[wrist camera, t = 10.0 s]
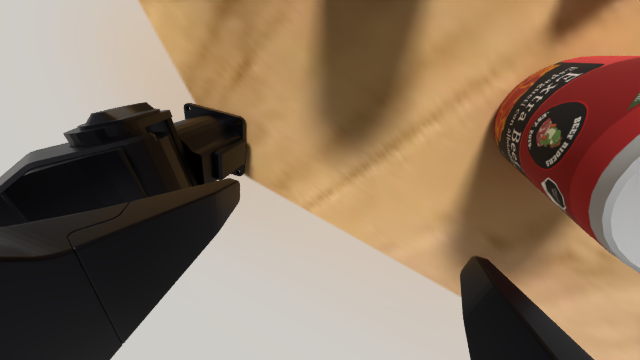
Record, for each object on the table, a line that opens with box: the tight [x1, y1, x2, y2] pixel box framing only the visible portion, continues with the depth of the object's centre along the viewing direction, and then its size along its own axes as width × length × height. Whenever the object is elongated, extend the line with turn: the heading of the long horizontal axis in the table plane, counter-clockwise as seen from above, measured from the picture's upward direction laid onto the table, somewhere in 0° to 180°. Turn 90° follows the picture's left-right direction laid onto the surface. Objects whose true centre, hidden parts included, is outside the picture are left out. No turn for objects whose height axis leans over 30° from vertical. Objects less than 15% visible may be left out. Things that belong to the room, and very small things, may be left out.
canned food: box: [495, 56, 640, 273], centre depth 11 cm, size 8×8×11 cm
